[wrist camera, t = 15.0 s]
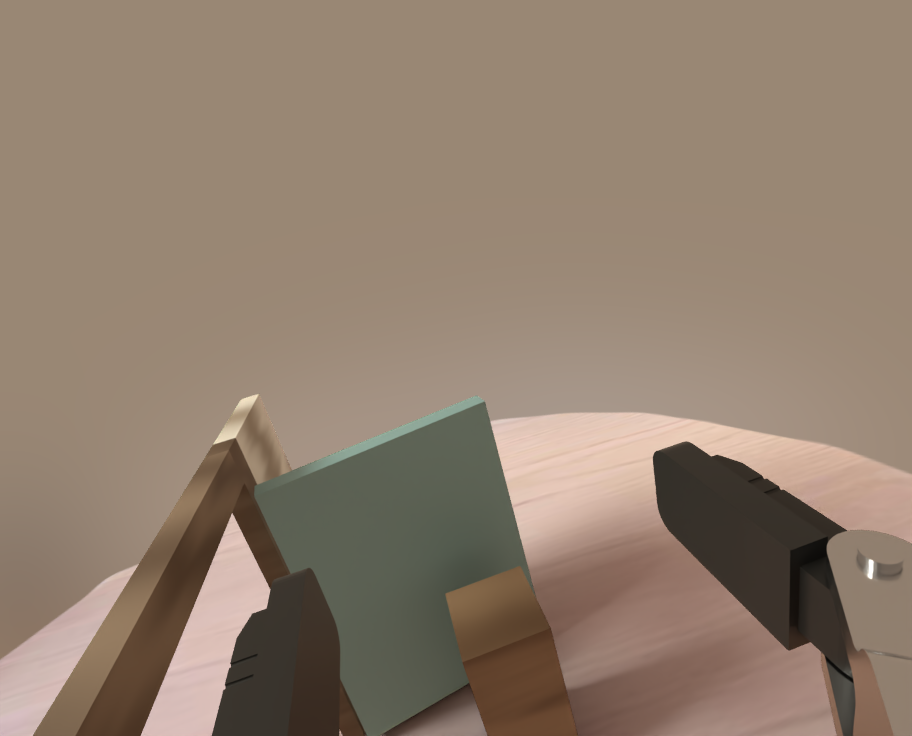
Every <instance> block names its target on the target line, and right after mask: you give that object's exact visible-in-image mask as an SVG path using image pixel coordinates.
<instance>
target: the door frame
mask: <svg viewBox="0 0 912 736" xmlns="http://www.w3.org/2000/svg"><path fill="white" fill-rule="evenodd" d="M290 471H292V469H291V467H290V465H289V463H288V460H287V458H286V455H285V453H284V451H283V448H282V446H281V444H280V442H279V439H278V437H277V435H276V432H275V430H274V428H273V425H272V423H271V421H270V418H269V416H268V414H267V411H266V409H265V407H264V404H263V402H262V400H261V397H260V395H259V394H257V395H254V396H250V397H247V398H244V399H241V401H240V402H239V404H238V405H237V407H236V409H235V410H234V412H233V413H232V415H231V417H230V418H229V420H228V422H227V423H226V425H225V426H224V428H223V430H222V431H221V433H220V434H219V436H218V438H217V439H216V441H215V442H214V444H213V446H212V447H211V449H210V451H209V452H208V454H207V455H206V457H205V459H204V460H203V462H202V463H201V465H200V467H199V468H198V470H197V472H196V474H195V475H194V476H193V478H192V480H191V481H190V483H189V484H188V486H187V488H186V489H185V491H184V492H183V494H182V496H181V497H180V499H179V501H178V502H177V504H176V505H175V507H174V509H173V510H172V512H171V513H170V515H169V517H168V518H167V520H166V522H165V523H164V525H163V526H162V528H161V530H160V531H159V533H158V535H157V536H156V538H155V540H154V541H153V543H152V544H151V546H150V548H149V549H148V551H147V552H146V554H145V555H144V557H143V559H142V561H141V562H140V563H139V565H138V567H137V568H136V570H135V572H134V573H133V575H132V576H131V578H130V580H129V581H128V583H127V584H126V586H125V588H124V589H123V591H122V593H121V594H120V596H119V597H118V599H117V601H116V602H115V604H114V605H113V607H112V609H111V610H110V612H109V614H108V615H107V617H106V618H105V620H104V622H103V623H102V625H101V626H100V628H99V630H98V631H97V633H96V635H95V636H94V638H93V639H92V641H91V643H90V644H89V646H88V647H87V649H86V651H85V652H84V654H83V655H82V657H81V659H80V660H79V662H78V664H77V665H76V667H75V668H74V670H73V672H72V673H71V675H70V676H69V678H68V680H67V681H66V683H65V685H64V686H63V688H62V689H61V691H60V693H59V694H58V696H57V697H56V699H55V701H54V702H53V704H52V706H51V707H50V709H49V710H48V712H47V714H46V715H45V717H44V718H43V720H42V722H41V723H40V725H39V727H38V728H37V730H36V731H35V733H34V735H33V736H141V733H142V731H143V728H144V726H145V723H146V721H147V719H148V716H149V714H150V711H151V709H152V706H153V704H154V702H155V699H156V697H157V694H158V692H159V689H160V687H161V685H162V682H163V680H164V677H165V675H166V672H167V670H168V667H169V665H170V663H171V660H172V658H173V655H174V653H175V650H176V648H177V646H178V643H179V641H180V638H181V636H182V633H183V631H184V629H185V626H186V624H187V621H188V619H189V616H190V614H191V612H192V609H193V607H194V604H195V602H196V599H197V597H198V594H199V592H200V590H201V587H202V585H203V582H204V580H205V577H206V575H207V573H208V570H209V568H210V565H211V563H212V560H213V558H214V556H215V553H216V551H217V548H218V546H219V543H220V541H221V538H222V536H223V534H224V531H225V529H226V526H227V524H228V521H229V519H230V517H231V514H232V513H233V515H234V517H235V519H236V521H237V523H238V525H239V527H240V529H241V531H242V533H243V535H244V537H245V539H246V541H247V543H248V545H249V547H250V549H251V551H252V553H253V555H254V557H255V559H256V561H257V563H258V565H259V567H260V569H261V571H262V573H263V575H264V577H265V579H266V581H267V583H268V585H269V587H270V589H271V585H272V582H273V580H274V579H277V578H280V577H283V576H286V575H289V574H291V573H290V571H289V569H288V567H287V565H286V563H285V561H284V558H283V556H282V554H281V552H280V550H279V548H278V546H277V544H276V541H275V539H274V537H273V535H272V533H271V531H270V529H269V527H268V525H267V522H266V520H265V518H264V516H263V514H262V512H261V510H260V508H259V505H258V503H257V501H256V499H255V497H254V489H255V486H256V485H258V484H260V483H263V482H265V481H268V480H270V479H273V478H275V477H278V476H280V475H283V474H285V473H287V472H290ZM339 729H340V731H341V733H342V735H343V736H364V728H363V726H362V724H361V722H360V720H359V718H358V715H357V713H356V711H355V709H354V707H353V705H352V703H351V701H350V698H349V696H348V694H347V692H346V690H345V688H344V686H343V684H342V682H341V679H340V710H339Z"/></svg>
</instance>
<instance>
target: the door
mask: <svg viewBox="0 0 912 736" xmlns="http://www.w3.org/2000/svg"><path fill="white" fill-rule="evenodd" d="M254 497H255V499H256V501H257V503H258V505H259V508H260V510H261V512H262V514H263V516H264V518H265V520H266V522H267V525H268V527H269V529H270V531H271V533H272V535H273V537H274V539H275V541H276V544H277V546H278V548H279V550H280V552H281V554H282V556H283V558H284V561H285V563H286V565H287V567H288V569H289V571H290V573H291V574H292V573H295V572H297V571H300V570H303V569H306V568H311V569H312V570H313V572H314V574H315V576H316V578H317V580H318V583H319V585H320V587H321V590H322V592H323V594H324V596H325V599H326V601H327V603H328V606H329V608H330V610H331V613H332V615H333V617H334V620H335V623H336V626H337V630H338V635H339V641H340V679H341V682H342V684H343V686H344V688H345V690H346V692H347V694H348V696H349V698H350V701H351V703H352V705H353V707H354V709H355V711H356V713H357V715H358V718H359V720H360V722H361V724H362V726H363V728H364V730H365V732H366V735H367V736H380V735H381V734H383V733H385V732H386V731H388V730H390V729H392V728H393V727H395V726H397V725H398V724H400V723H402V722H404V721H405V720H407V719H409V718H410V717H412V716H414V715H415V714H417V713H419V712H421V711H422V710H424V709H426V708H427V707H429V706H431V705H433V704H434V703H436V702H438V701H439V700H441V699H443V698H445V697H446V696H448V695H450V694H451V693H453V692H455V691H456V690H458V689H460V688H462V687H463V686H465V685H467V684H468V683H469V680H468V677H467V674H466V672H465V669H464V666H463V663H462V659H461V655H460V651H459V647H458V643H457V639H456V635H455V631H454V627H453V623H452V619H451V615H450V611H449V607H448V603H447V599H446V595H445V594H446V593H448V592H451V591H454V590H456V589H459V588H462V587H464V586H467V585H470V584H473V583H475V582H478V581H481V580H483V579H486V578H489V577H491V576H494V575H497V574H499V573H502V572H505V571H508V570H510V569H513V568H516V567H518V566H521V568H522V570H523V572H524V575H525V577H526V579H527V581H528V583H529V585H530V587H531V589H532V591H533V593H534V595H535V592H534V588H533V585H532V581H531V577H530V573H529V569H528V565H527V562H526V558H525V554H524V550H523V546H522V542H521V539H520V535H519V531H518V527H517V523H516V519H515V515H514V512H513V508H512V504H511V500H510V496H509V492H508V489H507V485H506V481H505V477H504V473H503V469H502V466H501V462H500V458H499V454H498V450H497V446H496V442H495V439H494V435H493V431H492V427H491V423H490V419H489V416H488V412H487V408H486V404H485V401H484V400H482V399H481V398H479V397H478V396H474V397H472V398H469V399H467V400H464V401H462V402H459V403H457V404H454V405H452V406H450V407H447V408H445V409H442V410H440V411H437V412H435V413H432V414H430V415H427V416H425V417H423V418H420V419H418V420H415V421H413V422H410V423H408V424H405V425H403V426H400V427H398V428H396V429H393V430H391V431H388V432H386V433H383V434H381V435H378V436H376V437H373V438H371V439H369V440H366V441H364V442H361V443H359V444H356V445H354V446H351V447H349V448H346V449H344V450H341V451H339V452H337V453H334V454H332V455H329V456H327V457H324V458H322V459H319V460H317V461H314V462H312V463H310V464H307V465H305V466H302V467H300V468H297V469H295V470H292V471H290V472H287V473H285V474H283V475H280V476H278V477H275V478H273V479H270V480H268V481H265V482H263V483H260V484H258V485H256V486H255V489H254ZM535 597H536V596H535Z"/></svg>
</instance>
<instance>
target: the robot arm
mask: <svg viewBox="0 0 912 736" xmlns="http://www.w3.org/2000/svg"><path fill="white" fill-rule="evenodd" d="M653 465H654V475H655V485H656V495H657V504H658V510H659V513H660V516H661V518H662V520H663V522H664V524H665V525H666V527H667V529H668V530H669V531H670V532H671V533H672V534H673V535H674V536H675V537H676V538H677V539H678V540H679V541H680V542H681V543H682V544H683V545H684V546H685V547H686V548H687V549H688V550H689V551H690V552H691V553H692V554H693V555H694V556H695V557H696V558H697V559H698V560H699V562H700V563H701V564H702V565H703V566H704V567H705V568H706V569H707V570H708V571H709V572H710V573H711V574H712V575H713V576H714V577H715V578H716V579H717V580H718V581H719V582H720V583H721V584H722V585H723V586H724V587H725V588H726V589H727V590H728V591H729V592H730V593H731V594H732V595H733V596H734V597H735V598H736V599H737V600H738V601H739V602H740V603H741V604H742V605H743V606H744V607H745V608H746V609H747V610H748V611H749V612H750V613H751V614H752V615H753V616H754V617H755V618H756V619H757V620H758V621H759V622H760V623H761V624H762V625H763V626H764V627H765V628H766V629H767V630H768V631H769V632H770V633H771V634H772V635H773V636H774V637H775V638H776V639H777V640H778V641H779V642H780V643H781V644H782V645H783V646H784V647H785V648H786V649H787V650H788V651H789V650H792V649H794V648H797V647H799V646H802V645H804V644H807V643H809V642H811V643H812V644H813V645H814V646H816V647H817V648H818V649H819V650H820V651H821V665H822V670H823V675H824V679H825V684H826V688H827V693H828V697H829V702H830V706H831V711H832V716H833V720H834V725H835V729H836V734H837V736H912V544H911V543H909V542H907V541H905V540H903V539H900V538H898V537H895V536H892V535H889V534H886V533H881V532H876V531H869V530H851V531H847V530H846V529H844V528H842V527H841V526H839V525H838V524H836V523H835V522H833V521H832V520H830V519H828V518H827V517H825V516H824V515H822V514H821V513H819V512H818V511H816V510H814V509H813V508H811V507H810V506H808V505H807V504H805V503H804V502H802V501H801V500H799V499H797V498H796V497H794V496H793V495H791V494H790V493H788V492H787V491H785V490H780V488H779V486H777V485H776V484H774V483H773V482H771V481H769V480H768V479H764V478H763V476H762V475H760V474H759V473H757V472H756V471H754V470H752V469H751V468H749V467H748V466H746V465H745V464H743V463H741V462H738V461H735V460H732V459H729V458H726V457H723V456H719V455H715V456H712V457H711V456H710V455H708V454H707V453H705V452H704V451H702V450H701V449H699V448H698V447H696V446H695V445H693V444H692V443H690V442H682V443H679V444H676V445H673V446H671V447H668V448H665V449H662V450H659V451H656V452H655V453H654V455H653ZM230 664H231V668H229V671H228V675H227V678H226V682H225V686H226V689H225V690H223V694H222V698H221V702H220V706H219V710H218V714H217V718H216V721H215V725H214V729H213V733H212V736H339V710H340V641H339V635H338V630H337V626H336V623H335V620H334V617H333V615H332V613H331V610H330V608H329V606H328V603H327V601H326V599H325V596H324V594H323V592H322V590H321V587H320V585H319V583H318V580H317V578H316V576H315V574H314V572H313V570H312V569H311V568H306V569H303V570H300V571H297V572H295V573H292V574H289V575H286V576H283V577H280V578H277V579H274V580H273V582H272V585H271V590H270V595H269V600H268V605H267V609H265V610H262V611H259V612H256V613H253V614H252V615H251V617H250V618H249V620H248V622H247V623H246V625H245V626H244V628H243V629H242V631H241V633H240V634H239V636H238V637H237V639H236V643H235V647H234V651H233V655H232V659H231V663H230Z"/></svg>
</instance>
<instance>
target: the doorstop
mask: <svg viewBox="0 0 912 736" xmlns="http://www.w3.org/2000/svg"><path fill="white" fill-rule="evenodd" d="M445 595H446V599H447V603H448V607H449V611H450V615H451V619H452V623H453V627H454V631H455V635H456V639H457V643H458V647H459V651H460V655H461V659H462V663H463V666H464V669H465V672H466V674H467V677H468V680H469V683H470V686H471V689H472V692H473V695H474V698H475V701H476V703H477V706H478V709H479V712H480V715H481V718H482V721H483V724H484V727H485V729H486V732H487V735H488V736H578V734H577V730H576V727H575V723H574V719H573V715H572V711H571V707H570V703H569V699H568V695H567V691H566V687H565V683H564V679H563V675H562V671H561V667H560V663H559V659H558V655H557V651H556V647H555V644H554V640H553V636H552V632H551V628H550V626H549V624H548V622H547V620H546V618H545V616H544V613H543V611H542V609H541V607H540V605H539V603H538V601H537V599H536V597H535V595H534V593H533V591H532V589H531V587H530V585H529V583H528V581H527V579H526V577H525V575H524V572H523V570H522V568H521V566H518V567H516V568H513V569H510V570H508V571H505V572H502V573H499V574H497V575H494V576H491V577H489V578H486V579H483V580H481V581H478V582H475V583H473V584H470V585H467V586H464V587H462V588H459V589H456V590H454V591H451V592H448V593H446V594H445Z"/></svg>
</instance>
